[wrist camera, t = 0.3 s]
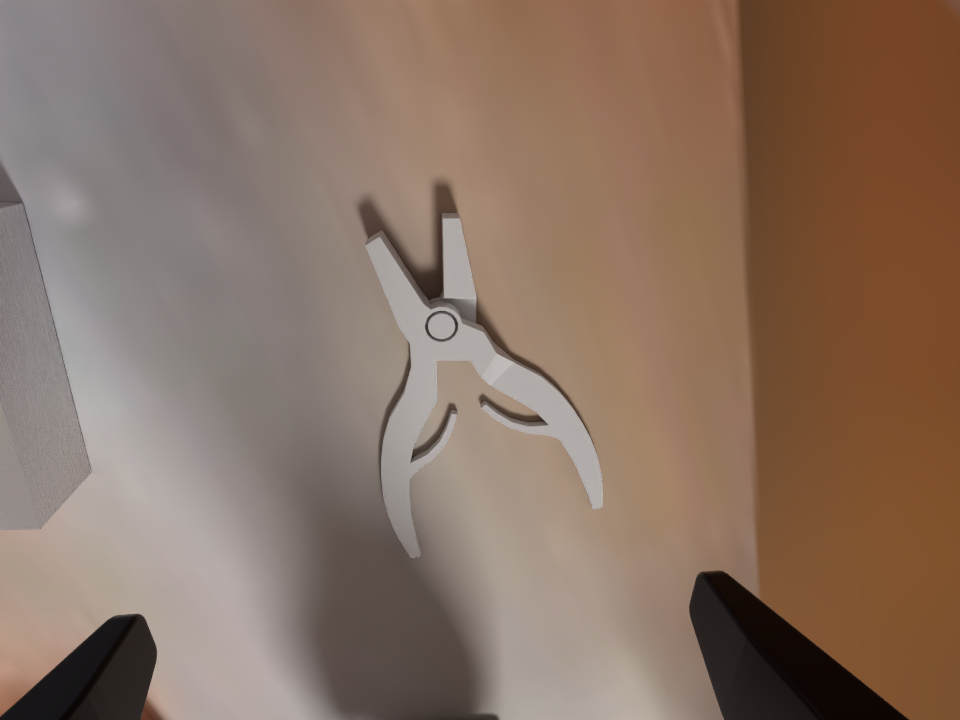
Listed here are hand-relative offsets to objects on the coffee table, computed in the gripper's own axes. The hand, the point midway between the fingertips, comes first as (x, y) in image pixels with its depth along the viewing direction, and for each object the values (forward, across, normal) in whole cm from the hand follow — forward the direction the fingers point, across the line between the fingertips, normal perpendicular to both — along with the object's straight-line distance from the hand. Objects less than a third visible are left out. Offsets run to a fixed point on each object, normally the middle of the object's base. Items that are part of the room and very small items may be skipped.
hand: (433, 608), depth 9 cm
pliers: (+15, -2, +5) cm, 15 cm away
